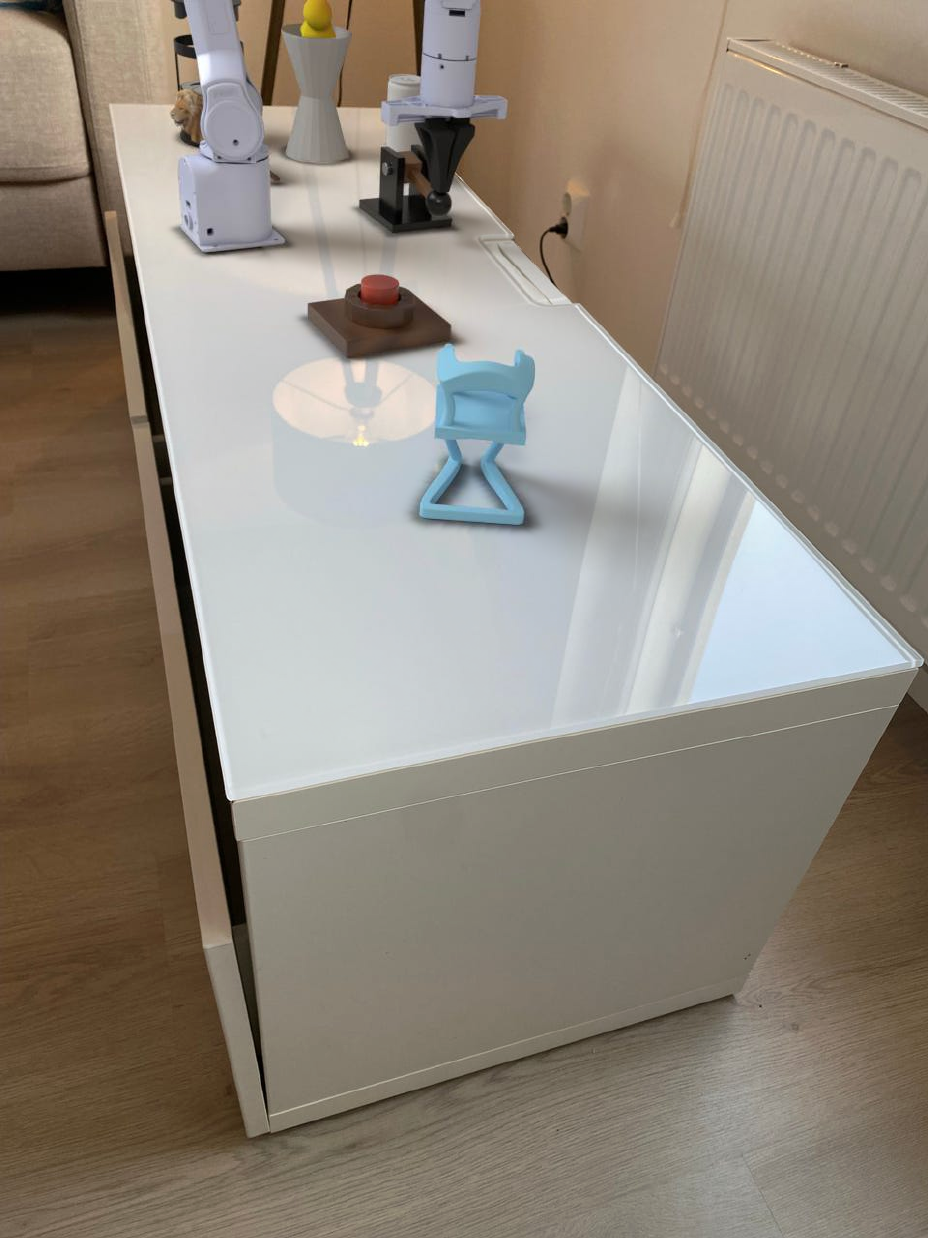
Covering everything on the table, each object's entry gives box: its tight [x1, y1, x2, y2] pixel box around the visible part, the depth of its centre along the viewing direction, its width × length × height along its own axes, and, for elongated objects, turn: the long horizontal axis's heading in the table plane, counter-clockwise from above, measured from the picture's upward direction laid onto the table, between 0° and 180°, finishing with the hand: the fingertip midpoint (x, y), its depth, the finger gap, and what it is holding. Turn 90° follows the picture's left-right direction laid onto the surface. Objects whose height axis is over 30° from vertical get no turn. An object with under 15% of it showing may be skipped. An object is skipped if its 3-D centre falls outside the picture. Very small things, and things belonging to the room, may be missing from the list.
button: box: [360, 273, 400, 305], centre depth 95 cm, size 4×4×2 cm
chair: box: [419, 343, 536, 526], centre depth 73 cm, size 8×8×12 cm
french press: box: [170, 0, 245, 148], centre depth 132 cm, size 12×9×23 cm
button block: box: [307, 282, 452, 359], centre depth 96 cm, size 11×9×4 cm
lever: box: [397, 151, 453, 217], centre depth 116 cm, size 11×3×3 cm, turn 30°
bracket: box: [358, 144, 453, 234], centre depth 119 cm, size 9×8×8 cm
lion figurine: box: [169, 89, 282, 182], centre depth 126 cm, size 15×5×9 cm, turn 70°
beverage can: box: [385, 73, 423, 152], centre depth 130 cm, size 5×5×12 cm
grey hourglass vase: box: [280, 0, 353, 163], centre depth 127 cm, size 9×9×35 cm
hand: (440, 189), depth 113 cm, fingers closed, pressing on lever
